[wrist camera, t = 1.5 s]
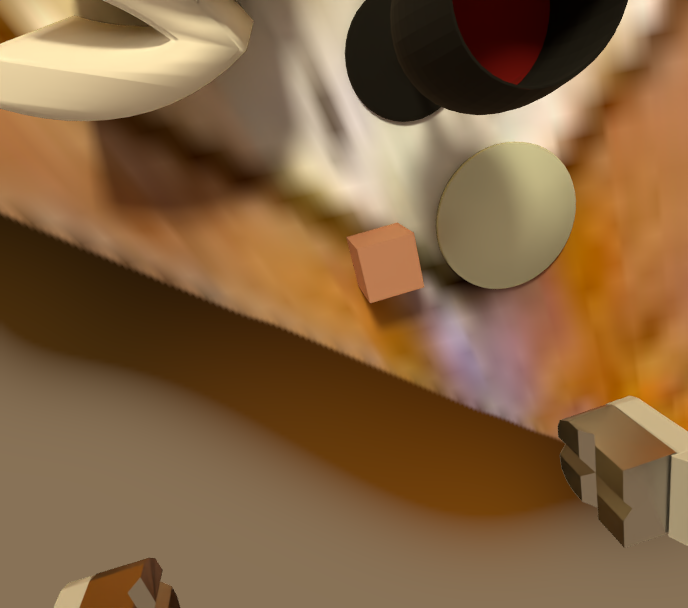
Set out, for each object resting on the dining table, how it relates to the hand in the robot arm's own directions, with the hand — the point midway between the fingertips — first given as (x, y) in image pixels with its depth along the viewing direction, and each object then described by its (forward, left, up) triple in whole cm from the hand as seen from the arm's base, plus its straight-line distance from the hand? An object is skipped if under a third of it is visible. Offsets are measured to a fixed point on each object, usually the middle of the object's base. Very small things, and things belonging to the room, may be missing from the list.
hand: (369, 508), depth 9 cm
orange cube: (-8, +6, -35) cm, 36 cm away
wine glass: (-14, -10, -35) cm, 39 cm away
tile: (-21, +6, -35) cm, 41 cm away
